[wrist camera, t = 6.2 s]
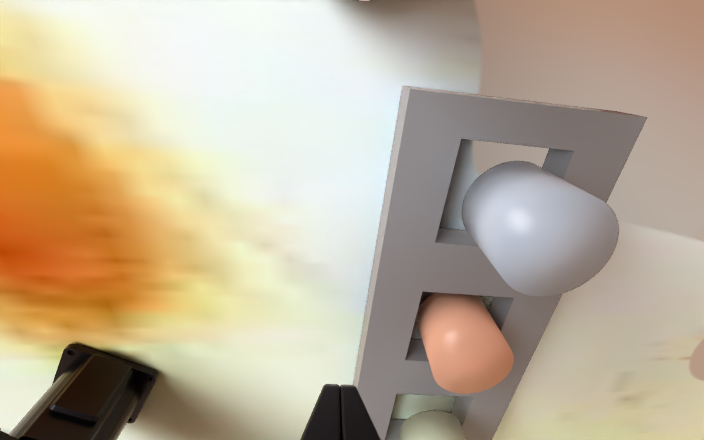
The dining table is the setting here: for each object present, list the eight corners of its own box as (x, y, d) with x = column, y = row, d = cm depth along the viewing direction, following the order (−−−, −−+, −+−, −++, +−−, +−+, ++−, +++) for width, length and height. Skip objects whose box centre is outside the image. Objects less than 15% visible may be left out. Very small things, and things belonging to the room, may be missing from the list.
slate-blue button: (534, 248, 19) (588, 300, 15) (452, 241, 18) (483, 292, 14) (568, 165, 16) (641, 199, 13) (475, 156, 16) (520, 188, 12)
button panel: (473, 435, 31) (482, 459, 29) (345, 431, 30) (345, 455, 28) (616, 111, 18) (647, 117, 16) (402, 85, 17) (410, 88, 15)
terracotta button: (473, 341, 25) (499, 395, 21) (410, 337, 24) (424, 392, 20) (492, 289, 23) (525, 338, 19) (424, 285, 22) (442, 333, 18)
